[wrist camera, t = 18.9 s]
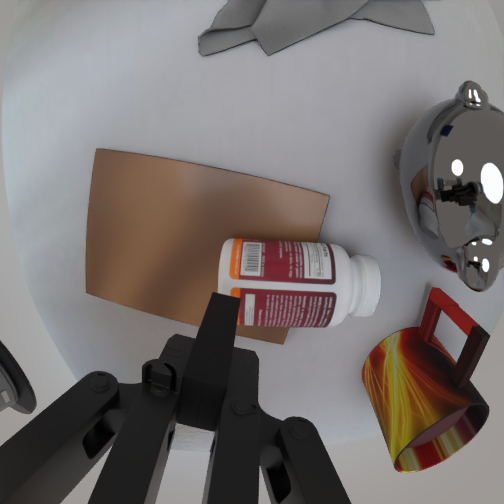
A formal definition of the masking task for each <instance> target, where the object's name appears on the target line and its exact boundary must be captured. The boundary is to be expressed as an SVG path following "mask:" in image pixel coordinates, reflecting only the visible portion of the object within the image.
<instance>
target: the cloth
mask: <svg viewBox="0 0 504 504" xmlns="http://www.w3.org/2000/svg"><path fill="white" fill-rule="evenodd" d="M347 18H354V19H364V18H366V19H369V20H372V21H374V22H377V23H380V24H384V25H388V26H391V27H395V28H400V29H405V30H410V31H414V32H419V33H426V34H432V35H434V33H435V30H434V28H433V25H432V23H431V20H430V18H429V15H428V13H427V11H426V9H425V7H424V5H423V4H422V2H421V1H420V0H229V1H228V2H227V4H226V5H225V6H224V7H223V8H222V9H221V10H220V11H219V12H218V13H217V15H216V17H215V19H214V21H213V23H212V25H211V27H210V29H207V30H205V31H204V32H203V33H202V34H201V35H199V36H198V45H199V53H200V54H201V55H202V56H205V55H209V54H213V53H216V52H220V51H224V50H226V49H229V48H231V47H234V46H237V45H239V44H242V43H245V42H248V41H251V40H254V39H257V40H258V42H259V43H260V45H261V46H262V48H263V49H264V51H265V52H266V54H267V55H268V56H269V55H271V54H273V53H275V52H277V51H279V50H281V49H283V48H285V47H287V46H289V45H291V44H294V43H296V42H298V41H300V40H302V39H305V38H307V37H309V36H311V35H313V34H315V33H317V32H319V31H321V30H323V29H325V28H327V27H329V26H331V25H334V24H336V23H338V22H341V21H343V20H345V19H347Z"/></svg>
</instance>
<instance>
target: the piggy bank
mask: <svg viewBox="0 0 504 504" xmlns="http://www.w3.org/2000/svg"><path fill="white" fill-rule="evenodd" d="M394 164H395V166H396V167H397V168H398V169H399V178H400V187H401V193H402V199H403V203H404V207H405V210H406V214H407V217H408V220H409V222H410V225H411V227H412V229H413V232H414V234H415V236H416V237H417V239H418V241H419V243H420V244H421V246H422V247H423V248H424V250H425V251H426V252H427V253H428V255H429V256H430V257H431V258H432V259H433V260H434V261H435V262H437V263H438V264H439V265H440V266H442V267H443V268H445V269H447V270H448V271H450V272H453V273H455V274H457V276H458V277H459V278H460V279H461V280H462V281H463V282H464V283H465V284H466V285H467V286H468V287H469V288H470V289H472V290H474V291H477V292H483V291H485V290H487V289H489V288H490V287H491V286H492V284H493V283H494V281H495V280H496V277H497V275H498V272H499V270H501V269H502V268H504V112H503V111H501V110H500V109H499V108H497V107H496V106H494V105H492V104H490V103H488V96H487V94H486V93H485V91H484V90H482V89H481V87H480V86H479V85H478V84H477V83H475V82H473V81H465V82H464V83H462V84H461V85H460V87H459V90H458V92H457V93H456V95H455V97H454V98H452V99H449V100H446V101H443V102H441V103H438V104H436V105H435V106H433V107H431V108H430V109H428V110H427V111H426V112H425V113H423V114H422V115H421V116H420V117H419V118H418V119H417V121H416V122H415V123H414V124H413V126H412V127H411V129H410V130H409V132H408V134H407V136H406V138H405V141H404V144H403V147H402V149H399V150H397V151H396V153H395V155H394Z"/></svg>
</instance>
